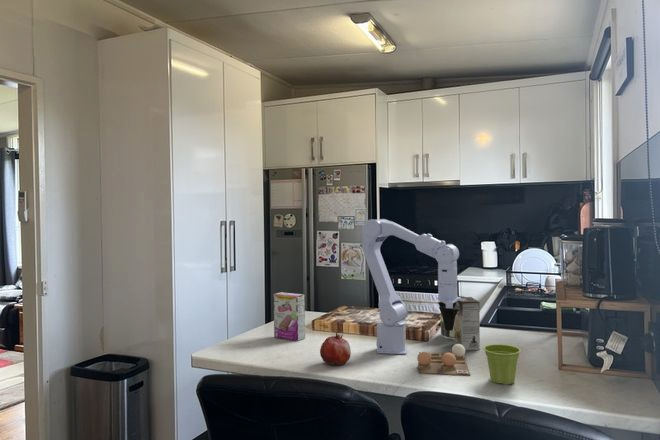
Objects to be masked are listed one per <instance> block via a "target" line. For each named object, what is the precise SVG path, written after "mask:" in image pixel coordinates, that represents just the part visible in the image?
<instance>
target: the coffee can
mask: <svg viewBox="0 0 660 440" xmlns="http://www.w3.org/2000/svg"><path fill="white" fill-rule="evenodd" d="M457 297H464V296H461V295H457ZM439 302H441V301H439ZM440 337H442V338H443V339H446V340H451V341H453V340H454V341H455V339H454V327H453V330H452V331H449V330H445V326H444V322H443V316H442V313H441V312H440Z"/></svg>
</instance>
